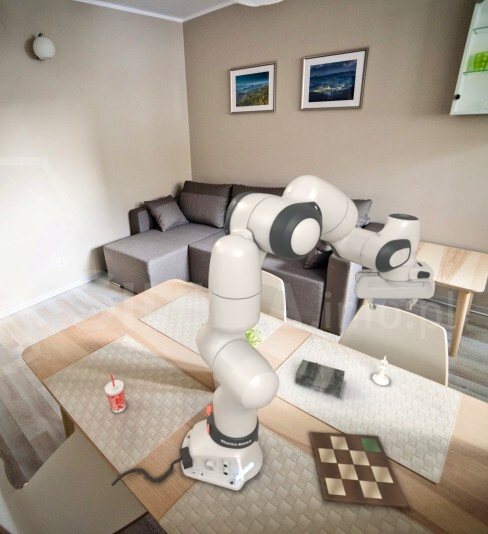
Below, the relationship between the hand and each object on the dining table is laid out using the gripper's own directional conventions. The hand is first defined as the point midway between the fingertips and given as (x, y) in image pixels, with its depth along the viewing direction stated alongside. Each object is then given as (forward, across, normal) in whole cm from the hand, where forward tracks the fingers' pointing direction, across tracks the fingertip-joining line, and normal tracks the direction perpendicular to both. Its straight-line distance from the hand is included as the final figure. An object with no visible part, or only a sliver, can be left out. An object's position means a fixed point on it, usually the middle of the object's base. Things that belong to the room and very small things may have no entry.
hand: (389, 308), depth 99 cm
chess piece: (+28, 0, -2) cm, 28 cm away
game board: (+26, -15, -35) cm, 46 cm away
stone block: (+27, -20, -5) cm, 34 cm away
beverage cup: (+22, -85, -27) cm, 92 cm away
